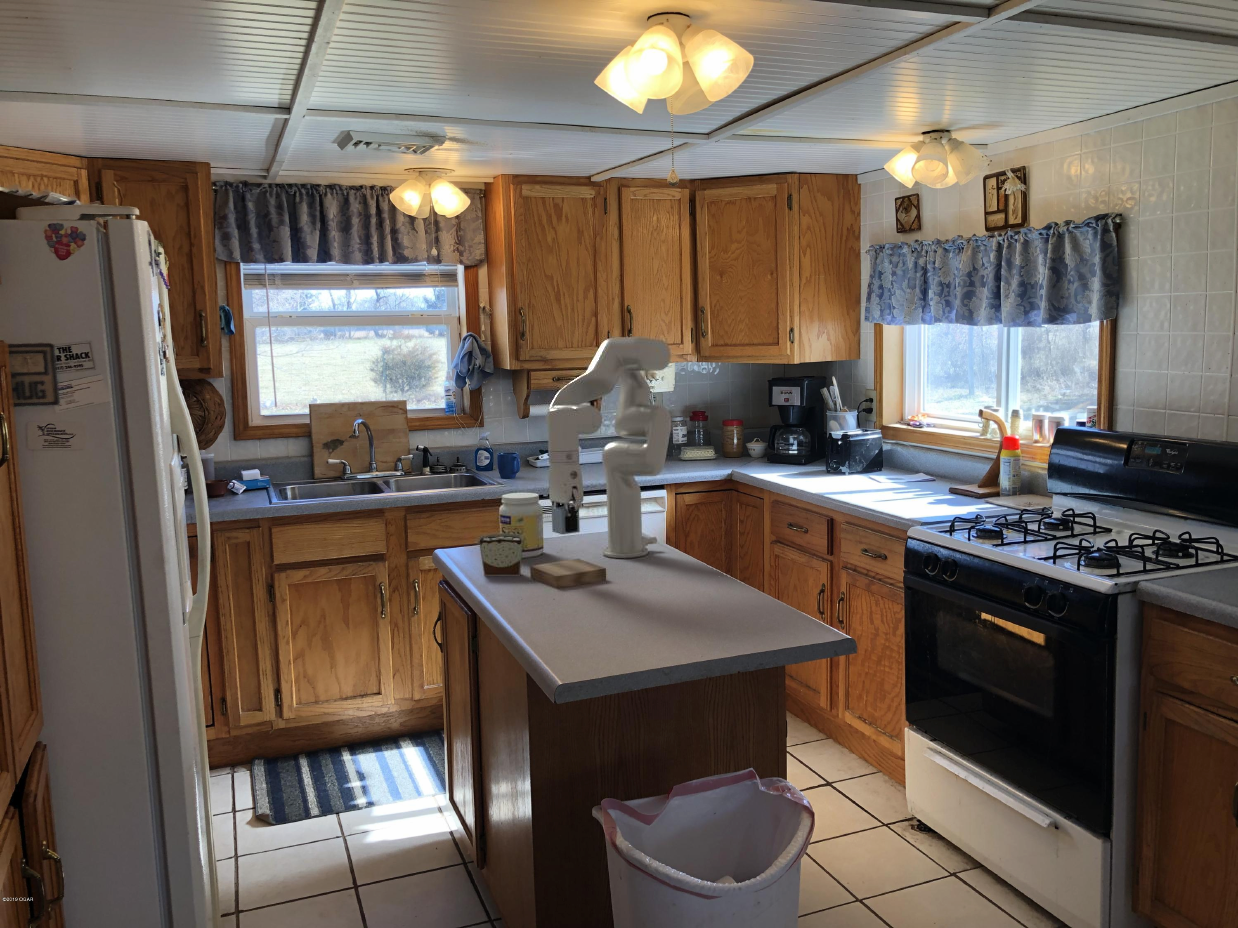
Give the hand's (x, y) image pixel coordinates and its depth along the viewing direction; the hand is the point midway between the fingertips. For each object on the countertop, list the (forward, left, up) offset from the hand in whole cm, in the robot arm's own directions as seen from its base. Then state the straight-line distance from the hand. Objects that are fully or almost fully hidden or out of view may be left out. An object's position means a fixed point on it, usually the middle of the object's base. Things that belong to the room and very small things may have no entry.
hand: (565, 529), depth 247 cm
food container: (+10, -16, -13) cm, 23 cm away
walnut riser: (0, 0, -13) cm, 13 cm away
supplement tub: (-4, -34, -13) cm, 37 cm away
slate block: (0, 0, -1) cm, 1 cm away
